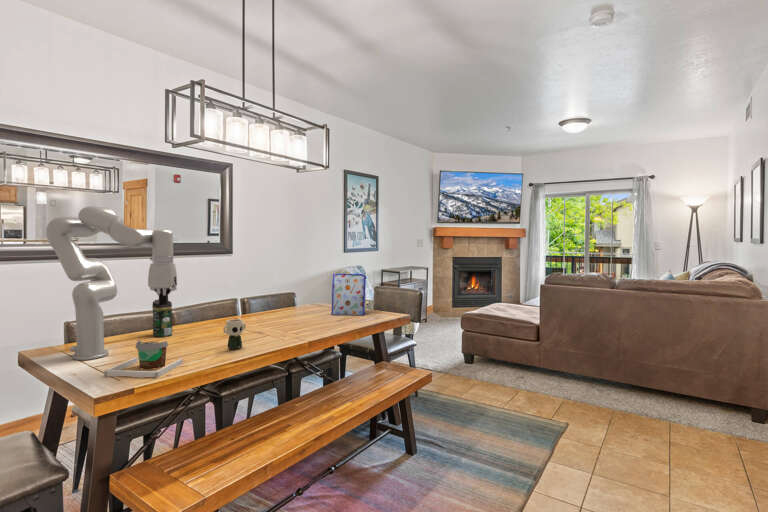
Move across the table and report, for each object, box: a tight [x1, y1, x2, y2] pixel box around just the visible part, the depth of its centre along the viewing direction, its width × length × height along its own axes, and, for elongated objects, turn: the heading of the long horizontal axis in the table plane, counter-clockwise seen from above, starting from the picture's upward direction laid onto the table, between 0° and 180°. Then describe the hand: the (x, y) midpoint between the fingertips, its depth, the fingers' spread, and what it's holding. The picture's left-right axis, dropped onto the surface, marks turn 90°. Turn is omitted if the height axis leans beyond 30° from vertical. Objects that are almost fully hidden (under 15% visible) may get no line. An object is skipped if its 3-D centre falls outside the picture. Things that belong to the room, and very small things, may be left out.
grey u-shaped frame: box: [104, 356, 184, 378], centre depth 161 cm, size 20×17×2 cm
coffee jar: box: [151, 299, 173, 338], centre depth 215 cm, size 10×8×19 cm
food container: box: [134, 339, 169, 370], centre depth 163 cm, size 12×6×10 cm, turn 85°
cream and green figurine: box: [222, 318, 246, 350], centre depth 192 cm, size 11×7×13 cm, turn 141°
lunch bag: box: [330, 272, 367, 316], centre depth 280 cm, size 23×17×27 cm
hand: (163, 304), depth 173 cm, fingers closed
